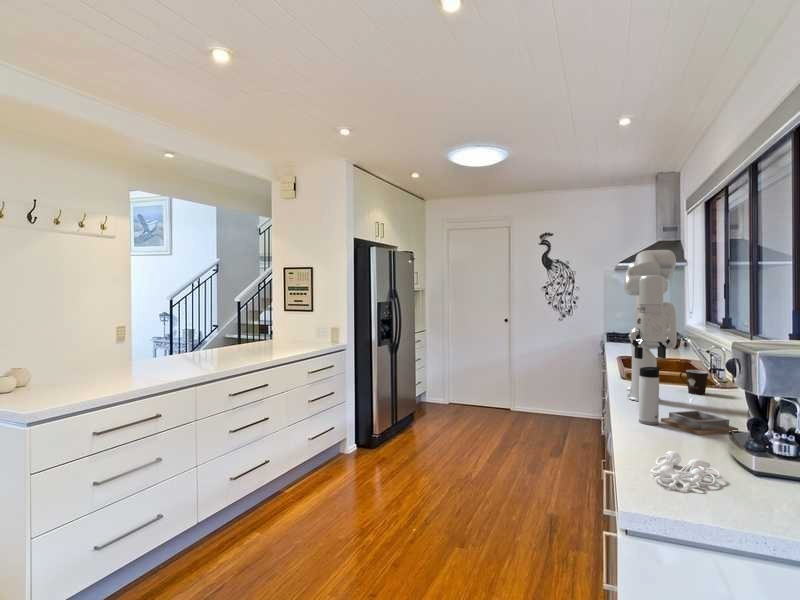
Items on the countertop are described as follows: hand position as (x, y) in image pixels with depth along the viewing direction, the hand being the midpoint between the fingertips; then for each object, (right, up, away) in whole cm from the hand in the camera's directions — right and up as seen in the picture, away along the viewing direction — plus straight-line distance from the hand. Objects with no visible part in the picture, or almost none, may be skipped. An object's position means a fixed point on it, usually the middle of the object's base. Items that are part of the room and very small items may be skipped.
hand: (650, 358), depth 166 cm
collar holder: (+15, -23, -4) cm, 28 cm away
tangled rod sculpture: (-17, -25, -48) cm, 56 cm away
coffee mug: (+47, -22, +49) cm, 72 cm away
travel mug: (0, -23, +1) cm, 23 cm away
